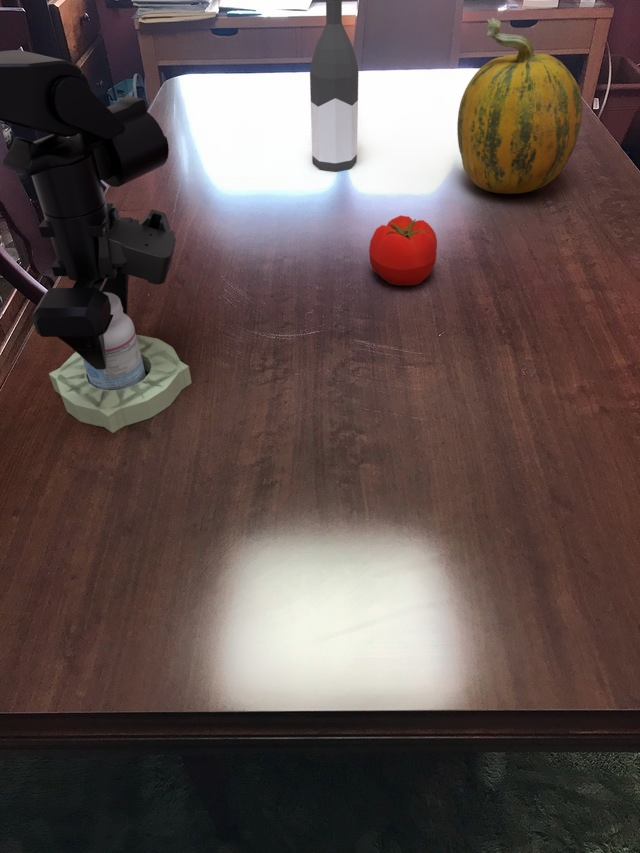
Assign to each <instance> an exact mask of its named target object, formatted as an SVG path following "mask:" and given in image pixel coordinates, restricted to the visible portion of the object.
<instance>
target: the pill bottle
mask: <svg viewBox="0 0 640 853" xmlns="http://www.w3.org/2000/svg"><path fill="white" fill-rule="evenodd" d="M103 293H104V294H106V295H107V296H108V297H109V301H110V304H111V315H113V318H112V320H111V323H110V325H109V327H108V330H107V331H106V333H105V334H103V335H104V344H105V353H106V369H103V370H98V369H95V368H94V367H93V366H91V365H90V364H89V363H88V362H87V361H86V360H85V359H84V358H83V357H82V359H83V362H84V365H85V368H86V372H87V375H88V378H89V381H90V384H91V385H93V386H94V387H96V388H99V389H103V390H121V389H125V388H128V387H131V386H134V385H136V384H137V383H139V382H141V381H142V380H144V379H145V377H146V376H147V374H146V371H145V370H144V365H143V361H142V357H141V353H140V349H139V345H138V341H137V337H136V335H137V332H136V329H135V325H134V322H133V320H132V319H131V318H130V316H129V315H128V314H127V315H126V314H124V313H123V307H122V305H121V301H120V299H119V297H118V296H116V295H115V294H112V293H108V292H103Z"/></svg>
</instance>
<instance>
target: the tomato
mask: <svg viewBox="0 0 640 853" xmlns="http://www.w3.org/2000/svg"><path fill="white" fill-rule="evenodd" d="M437 250H438V239H437V234H436V232H435V230H434V229H433V227H432V226H431V225H430V224H429V223H428V222H427V221H425V220H424V219H419V220H417V219H416V218H414V220H413V219H412V218H411V216H409V215H398V216H396V217H394V218H392V219H390V220H389V221H388V222H387V224H386V225H385V224H381V225H380V226H378V227H377V228H376V229H375V231H374V233H373V234H372V237H371V239H370V241H369V248H368V255H369V262H370V265H371V268H372V271H374V272H375V273H376V274H378V275H379V276H380V277H381V279H383V280H385V281H386V282H387V283H389V284H391V285H395V286H416V285H418V284H420V283H422V282H423V281H424V280H425V279H426V278H427V277H428V276H429V275H431V272H432V270H433V269H434V267H435V265H436V260H437Z"/></svg>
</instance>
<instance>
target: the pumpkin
mask: <svg viewBox="0 0 640 853" xmlns="http://www.w3.org/2000/svg"><path fill="white" fill-rule="evenodd" d="M487 23H488V24H487V27H486V29H487V32H486V36H487V37H490V38H491V39H493V40H494V41H496V43H497V44H499V45H501V46H503V47H505V48H507V47H508V48H509V47H510V48H512V49H513V48H514V49H516V50H518V53H516V54H507V55H504V56H499V57H495V58H493V59H491V60H489V61H488V62H486V63H485V64H484V65H482V66H481V67H480V68H479V69H478V70H477V72H475V74H474V75H473V77H472V78H471V79H470V81H469V82H468V83H467V85H466V87H465V90H464V91H463V94H462V97H461V100H460V104H459V107H458V113H457V123H456V125H457V143H458V150H459V153H460V158H461V164H462V167H463V169H464V172H465V174H466V175H467V177H468V178H469V179H470V180H471V181H472V183H474V185H475V186H477V187H478V188H480V189H482V190H484V191H486V192H490V193H495V194H508V195H509V194H510V195H513V194H525V193H529V192H530V193H531V192H533V191H536V190H538V189H541V188H543V187H545V186H546V185H548V184H549V183H550V182H552V181H553V180H555V178H556V177H557V176H558V175H559V174H560V173H561V172H562V171H563V170H564V168H565V166H566V165H567V163H568V162H569V160H570V159H571V156H572V154H573V153H574V150H575V147H576V144H577V141H578V138H579V135H580V130H581V127H582V119H583V97H582V92H581V90H580V86H579V84H578V83H577V81H576V79H575V77H574V76H573V75H572V73H571V72H570V70H569V69H568V68H567V67H566V65H564V64H563V62H562V61H561V60H559V59H558V58H556V57H554V56H552V55H550V54H547V53H541V52H534V51H535V50H534V47H533V44H532V43H531V41H530V40H529V39H528V38H527V37H525V36H524V35H521V34H519V35H518V34H514V33H513V34H511V33H504V32H500V29H501V25H502V22H501V21H500V20H499V19H497V18H494V17H491V19H487Z"/></svg>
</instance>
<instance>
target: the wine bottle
mask: <svg viewBox="0 0 640 853" xmlns="http://www.w3.org/2000/svg"><path fill="white" fill-rule="evenodd" d="M342 13H343V0H325V17H326V18H325V25H324V28H323V30H322V32H321V34H320V37H319V38H318V40H317V43H316V45H315V48H314V52H313V55H312V58H311V64H310V70H309V84H310V85H309V86H310V88H309V89H310V90H309V92H310V94H309V95H310V120H311V121H310V122H311V123H310V125H311V128H310V129H311V132H310V133H311V159H312V164H313V165H314V167H316V168H317V169H318V170H320V171H326V172H334V173H338V172H342V171H347V170H351V169H353V167H354V166H355V164H356V163H357V159H358V128H359V127H358V125H359V123H358V119H359V116H358V115H359V66H358V62H357V57H356V56H357V55H356V53H355V51H354V50H355V49H354V47H353V44H352V42H351V40H350V38H349V36H348V33H347V31H346V29H345V27H344V25H343V21H342V20H343V18H342V17H343V14H342Z"/></svg>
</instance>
